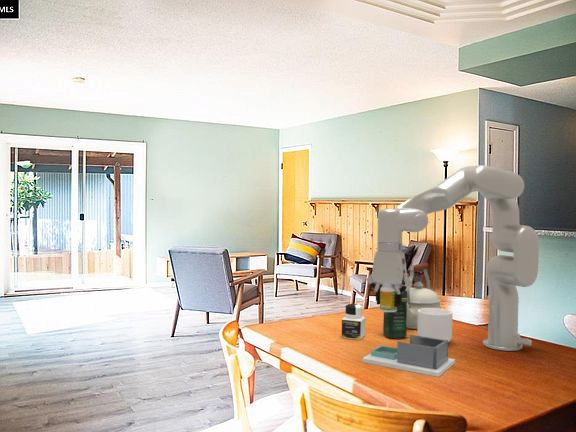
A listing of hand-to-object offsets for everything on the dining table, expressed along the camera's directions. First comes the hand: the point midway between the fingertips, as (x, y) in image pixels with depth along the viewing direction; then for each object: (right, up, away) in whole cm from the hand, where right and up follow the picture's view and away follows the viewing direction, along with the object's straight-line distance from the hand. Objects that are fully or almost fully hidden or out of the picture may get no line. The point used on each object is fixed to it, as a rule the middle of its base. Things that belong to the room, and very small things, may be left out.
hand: (388, 304), depth 167 cm
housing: (+9, -16, -6) cm, 20 cm away
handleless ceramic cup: (+20, -17, +20) cm, 33 cm away
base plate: (+6, -17, -4) cm, 19 cm away
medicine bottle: (-8, -17, +27) cm, 33 cm away
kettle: (+20, -16, +45) cm, 52 cm away
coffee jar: (+8, -17, +29) cm, 34 cm away
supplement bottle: (0, -2, 0) cm, 2 cm away
